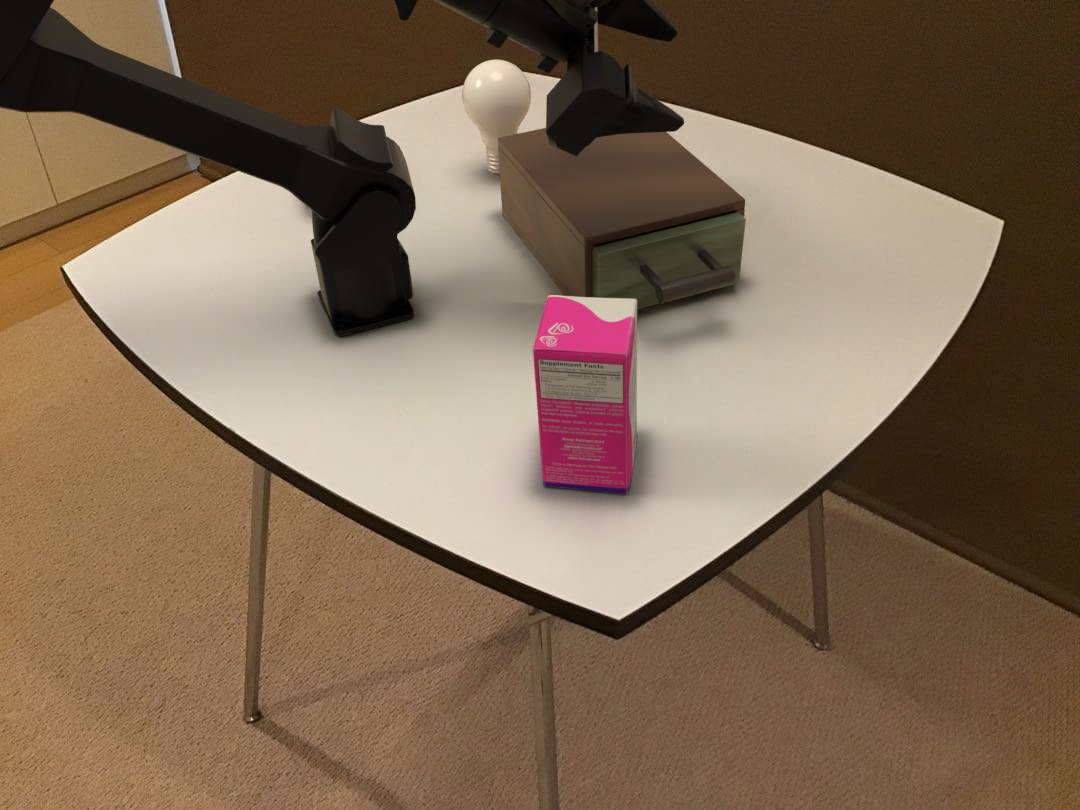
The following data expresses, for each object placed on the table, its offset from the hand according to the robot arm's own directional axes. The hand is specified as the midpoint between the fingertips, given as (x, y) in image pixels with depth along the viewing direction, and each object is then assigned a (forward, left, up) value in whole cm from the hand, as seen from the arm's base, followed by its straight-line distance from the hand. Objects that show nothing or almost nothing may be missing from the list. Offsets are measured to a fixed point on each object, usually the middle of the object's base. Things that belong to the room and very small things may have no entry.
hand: (677, 79), depth 77 cm
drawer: (-3, 0, -15) cm, 15 cm away
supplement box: (-16, -20, -16) cm, 30 cm away
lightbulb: (-7, +21, -16) cm, 28 cm away
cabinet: (-3, +4, -16) cm, 17 cm away
